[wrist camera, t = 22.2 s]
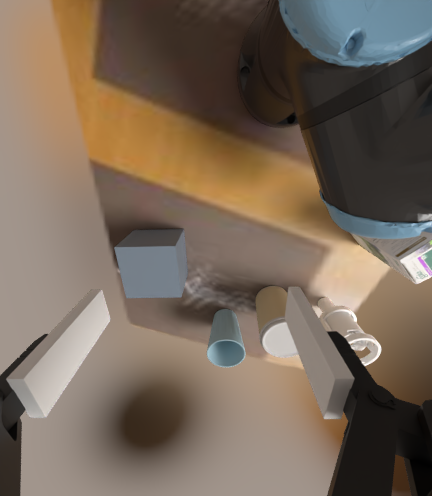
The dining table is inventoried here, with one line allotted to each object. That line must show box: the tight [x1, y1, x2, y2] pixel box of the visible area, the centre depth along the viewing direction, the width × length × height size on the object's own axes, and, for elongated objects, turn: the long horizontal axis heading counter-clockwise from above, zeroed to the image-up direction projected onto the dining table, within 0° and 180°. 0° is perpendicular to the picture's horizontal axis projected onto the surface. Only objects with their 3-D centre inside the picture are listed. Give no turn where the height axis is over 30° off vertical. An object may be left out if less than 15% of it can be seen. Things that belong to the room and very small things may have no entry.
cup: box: [207, 309, 245, 367], centre depth 48 cm, size 8×8×10 cm
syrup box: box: [350, 232, 432, 284], centre depth 36 cm, size 6×6×14 cm
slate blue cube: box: [114, 229, 188, 298], centre depth 42 cm, size 10×10×9 cm
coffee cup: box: [255, 286, 298, 358], centre depth 44 cm, size 9×9×12 cm
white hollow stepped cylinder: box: [318, 297, 381, 366], centre depth 43 cm, size 7×7×15 cm
